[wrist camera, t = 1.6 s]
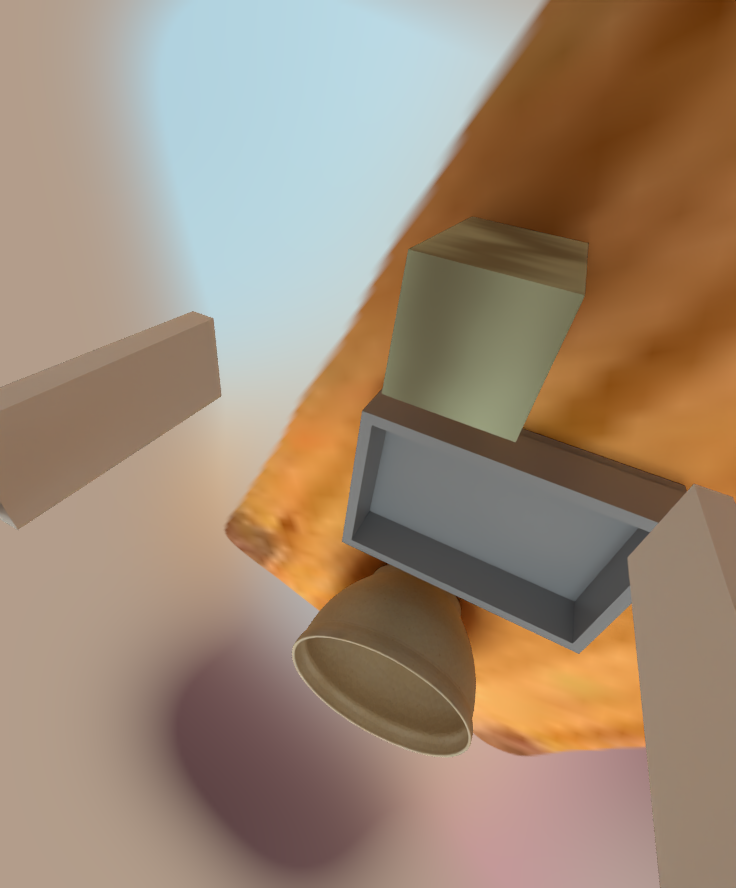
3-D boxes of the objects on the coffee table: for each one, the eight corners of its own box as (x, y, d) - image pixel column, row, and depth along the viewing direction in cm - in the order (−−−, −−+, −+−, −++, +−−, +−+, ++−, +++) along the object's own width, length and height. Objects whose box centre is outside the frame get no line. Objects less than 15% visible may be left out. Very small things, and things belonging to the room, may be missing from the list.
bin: (685, 485, 24) (699, 538, 21) (580, 603, 33) (579, 653, 30) (388, 381, 29) (362, 410, 26) (364, 507, 38) (342, 541, 34)
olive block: (588, 243, 20) (584, 295, 13) (539, 352, 24) (515, 442, 16) (472, 216, 22) (408, 249, 14) (443, 323, 25) (381, 393, 18)
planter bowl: (329, 585, 48) (275, 672, 40) (377, 509, 37) (318, 608, 29) (446, 664, 46) (415, 771, 38) (532, 608, 36) (514, 741, 28)
